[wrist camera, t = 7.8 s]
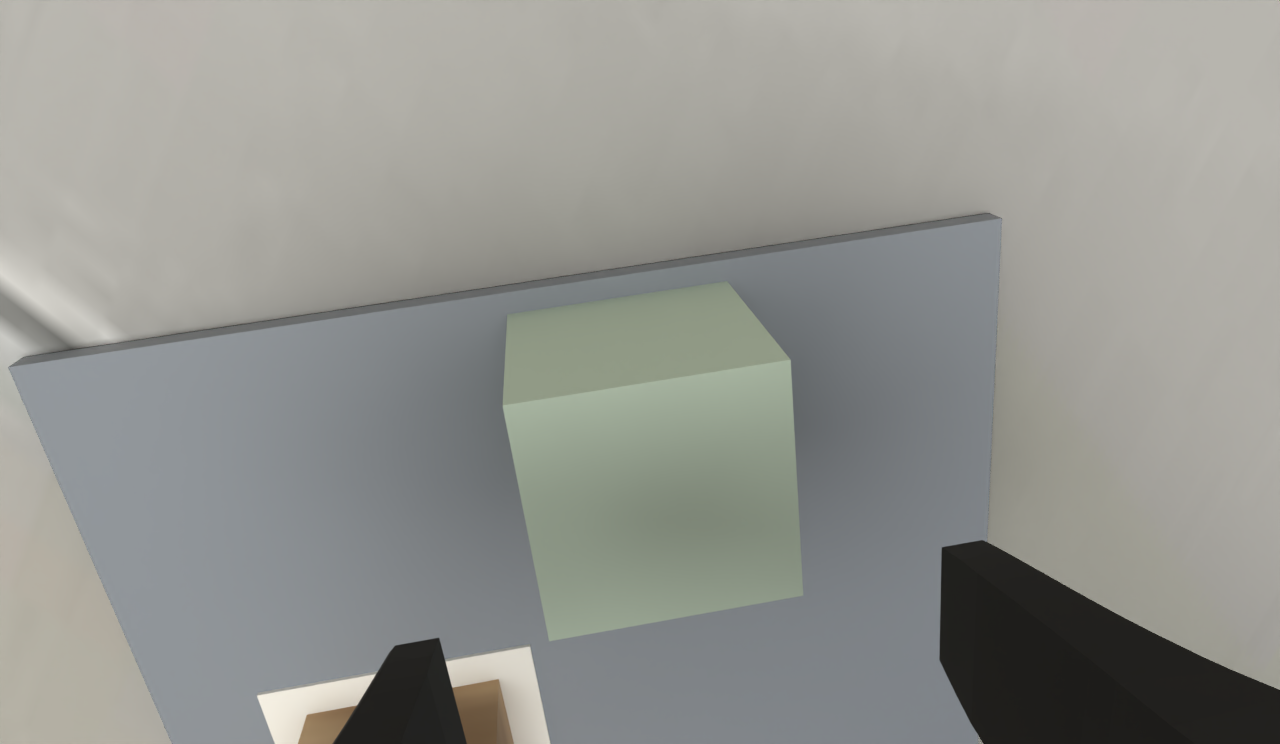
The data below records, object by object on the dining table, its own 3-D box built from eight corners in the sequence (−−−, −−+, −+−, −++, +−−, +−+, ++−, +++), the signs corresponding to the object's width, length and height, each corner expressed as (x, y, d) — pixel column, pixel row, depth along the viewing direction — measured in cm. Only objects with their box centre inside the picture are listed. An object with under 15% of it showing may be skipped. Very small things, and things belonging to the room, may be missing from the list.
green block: (726, 281, 19) (790, 359, 15) (742, 473, 21) (803, 595, 17) (507, 314, 19) (502, 405, 14) (543, 507, 21) (549, 641, 16)
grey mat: (989, 213, 20) (1004, 219, 20) (966, 773, 27) (977, 791, 27) (23, 357, 19) (5, 369, 18) (260, 913, 26) (253, 936, 25)
